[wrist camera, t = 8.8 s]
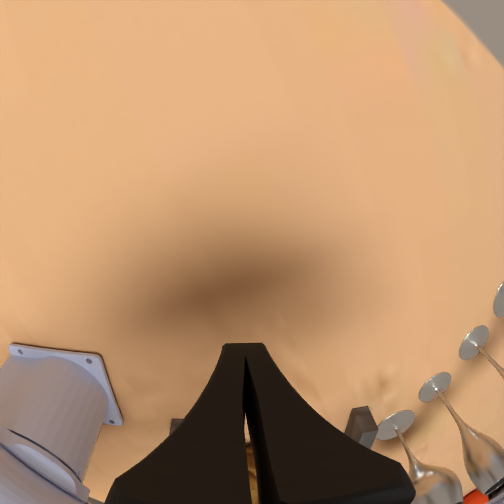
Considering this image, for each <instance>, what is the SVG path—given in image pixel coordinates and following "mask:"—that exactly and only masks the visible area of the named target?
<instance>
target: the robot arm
mask: <svg viewBox="0 0 504 504" xmlns="http://www.w3.org/2000/svg"><path fill="white" fill-rule="evenodd" d="M8 349H9V352H10V354H11V356H10V357H9V358H8V360H7V361H6V362H5V363H4V365H3V366H2V367H1V368H0V504H91V503H90V502H89V501H87V500H88V496H89V493H90V489H89V488H87V487H85V486H84V485H83V484H82V483H83V480H84V477H85V474H86V471H87V468H88V464H89V461H90V458H91V455H92V452H93V449H94V446H95V444H96V441H97V438H98V435H99V432H100V429H101V426H102V424H109V425H117V426H121V425H122V424H123V419H122V416H121V414H120V411H119V408H118V406H117V403H116V400H115V397H114V395H113V392H112V389H111V386H110V383H109V380H108V377H107V374H106V371H105V368H104V364H103V361H102V359H101V357H100V356H99V355H97V354H91V353H81V352H71V351H63V350H54V349H47V348H39V347H32V346H26V345H19V344H13V343H11V344H10V345H9V346H8ZM89 359H90V360H91V361H90V360H89ZM245 413H246V419H247V425H248V430H249V435H250V441H251V446H252V451H253V457H254V462H255V469H256V478H257V490H258V502H259V504H411V503H412V501H413V500H414V498H415V496H416V490H415V488H414V486H413V483H412V481H411V479H410V477H409V476H408V474H407V472H406V471H405V470H404V468H403V467H402V465H401V463H399V462H397V461H395V460H392V459H390V458H388V457H386V456H383V455H381V454H379V453H377V452H374V451H372V450H370V449H368V448H367V447H365V446H363V445H361V444H360V443H358V442H356V441H354V440H353V439H351V438H350V437H348V436H347V435H345V434H344V433H343V432H341V431H340V430H338V429H337V428H335V427H334V426H333V425H331V424H330V423H329V422H328V421H326V420H325V419H324V418H323V417H322V416H320V415H319V414H318V413H317V412H316V411H315V410H314V409H313V408H312V407H311V406H310V405H309V404H308V403H307V402H306V401H305V400H304V399H303V398H302V397H301V396H300V395H299V394H298V393H297V391H296V390H295V389H294V388H293V387H292V386H291V384H290V383H289V382H288V381H287V379H286V378H285V377H284V375H283V374H282V373H281V371H280V370H279V368H278V367H277V365H276V364H275V362H274V361H273V359H272V358H271V356H270V354H269V353H268V351H267V349H266V347H265V345H264V344H263V343H226V344H225V345H223V346H222V351H221V355H220V358H219V360H218V363H217V365H216V368H215V370H214V372H213V374H212V376H211V378H210V380H209V382H208V384H207V385H206V387H205V389H204V390H203V392H202V394H201V395H200V397H199V399H198V400H197V402H196V403H195V405H194V406H193V408H192V409H191V410H190V412H189V413H188V414H187V416H186V417H185V418H184V419H183V421H182V422H181V423H180V424H179V425H178V426H177V427H176V429H175V430H174V431H173V432H172V433H171V434H170V435H169V436H168V437H167V438H166V439H165V440H164V441H163V442H162V443H161V444H160V445H159V446H158V447H157V448H156V449H154V450H153V451H152V452H151V453H150V454H149V455H148V456H147V457H145V458H144V459H143V460H142V461H140V462H139V463H138V464H136V465H135V466H133V467H132V468H131V469H129V470H128V471H126V472H125V473H123V474H122V475H120V476H119V477H117V478H116V479H115V481H114V482H113V484H112V486H111V489H110V491H109V493H108V496H107V498H106V500H105V504H252V497H251V490H250V481H249V473H248V464H247V454H246V444H245V433H244V424H245ZM485 504H504V492H503V493H502V494H500V495H498V496H497V497H495V498H494V499H492V500H490V501H489V502H487V503H485Z"/></svg>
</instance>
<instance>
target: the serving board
mask: <svg viewBox="0 0 504 504" xmlns="http://www.w3.org/2000/svg"><path fill="white" fill-rule="evenodd" d="M503 492H504V487H503V488H502V489H501V490H500V491H499V492H498V493H497V494H495V495H494V496H493V497H492V494H489V495H488V498H489V499H490V500H492V499H494V498H495V497H497V496H498V495H500V494H502V493H503Z"/></svg>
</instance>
